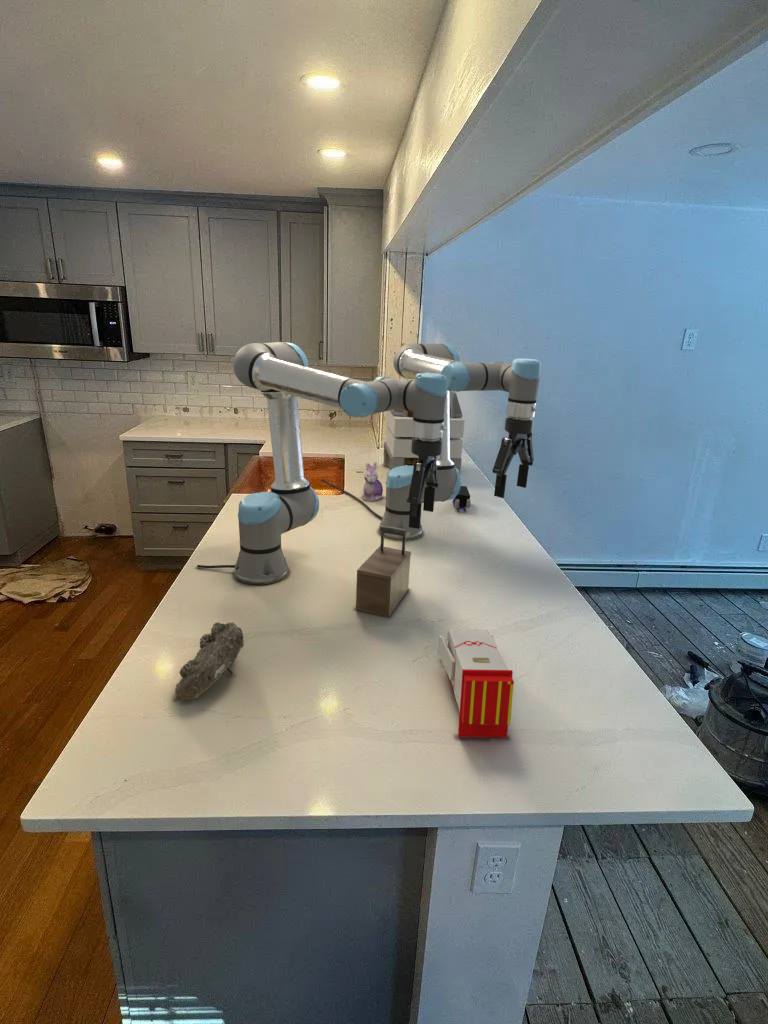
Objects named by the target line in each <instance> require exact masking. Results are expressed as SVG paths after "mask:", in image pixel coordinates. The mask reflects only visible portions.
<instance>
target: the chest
mask: <svg viewBox="0 0 768 1024" xmlns="http://www.w3.org/2000/svg"><path fill="white" fill-rule="evenodd" d="M410 566H411V556H410V557H409V558H408V559H407V560H406V562H405V563H404V564H403V565H402V567H401V568H400V569H399V570H398V572H397V573H396V574H395V576H394V577H393V578H392V579H391V580H388V579H383V578H378V577H373V576H368V575H363V574H358V573H357V572H356V587H355V590H356V592H355V610H357V611H361V612H364V613H365V612H366V613H369V614H373V615H377V616H384V617H388V618H389V617H391V615H392V614H393V612H394V611H395V609H396V608H397V606H398V605H399V603H400V602H401V601H402V599H403V598H404V597H405V595H406V593H407V592H408V591H409V585H410V569H411V567H410Z"/></svg>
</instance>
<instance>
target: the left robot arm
mask: <svg viewBox="0 0 768 1024" xmlns="http://www.w3.org/2000/svg"><path fill="white" fill-rule="evenodd" d="M308 361H309V360H308V358H307V355H306V354H305V352H304V351H303V350H302V349H301V348H300V347H299V346H298V345H297V344H295V343H292V342H285V341H276V342H274V341H273V342H251V343H248V344H245V345H244V346H241V348H240V349H239V350H238V351H237V352H236V354H235V356H234V357H233V363H232V365H233V372H234V375H235V377H236V378H237V380H238V381H239V382H240V383H241V384H243V385H244V386H246V387H248V388H250V389H254V390H258V391H260V394H262V395H263V396H264V397H265V398H266V402H267V411H268V422H269V432H270V442H271V451H272V461H273V470H274V471H273V472H274V481H272V483H271V484H270V491H261V492H252V493H249V494H248V495H246V496H244V497H243V498H242V499H241V500H240V501H239V503H238V512H237V519H238V533H239V552H238V556H237V560H236V562H235V564H218V565H217V564H215V565H205V564H196V568H200V569H228V568H230V569H231V568H233V569H234V577H235V578H236V579H237V580H238V581H239V582H242V583H244V584H248V585H258V586H260V585H270V584H273V583H276V582H279V581H281V580H283V579H285V578H286V577H287V576H288V574H289V565H288V563H287V558H286V556H285V554H284V552H283V549H282V535H283V534H285V533H287V532H290V531H293V530H295V529H297V528H300V527H304V526H305V525H307V524H309V523H310V522H311V521H314V520H315V518H316V517H317V515H318V513H319V509H320V499H319V495H318V493H316V491H315V489H314V488H313V487H312V486H311V482H310V481H309V480H308V479H306V477H305V472H304V460H303V447H302V437H301V425H300V413H299V402H298V400H299V399H298V398H301V399H305V400H308V401H312V402H315V403H319V404H323V405H326V406H330V407H334V408H336V409H341V410H342V411H343V412H344V413H345V414H346V415H347V416H349V417H351V418H367V417H369V416H372V415H376V414H379V413H384V412H387V411H389V410H405V411H410V412H413V428H412V436H413V437H414V438H413V439H412V446H411V452H412V453H413V454H415V455H417V456H418V457H419V458H418V461H417V462H414V467H413V475H412V480H411V486H410V491H409V497H408V499H407V503H410V515H409V527H410V528H417V529H420V522H421V519H422V511H425V512H429V513H432V512H433V513H434V509H435V502H434V497H435V488H434V487H437V488H438V486H439V484H438V483H437V482H438V477H437V456H439V455H440V454H441V452H442V440H441V439H440V438H442V437H443V430H445V429H446V427H445V426H443V424H444V411H445V401H446V395H447V393H446V383H447V380H446V377H445V376H444V375H442V374H436V373H419V374H417V375H416V379H406V378H404V379H403V378H397V377H392V376H377V377H375V378H374V380H372V381H371V380H370V381H365V380H360V379H357V378H356V379H355V378H352V377H348V376H345V375H340V374H337V373H333V372H328V371H324V370H321V369H317V368H314V367H313V368H312V367H310V366H309V362H308ZM425 483H426V486H428V487H425V490H424V486H425ZM423 490H424V503H421V498H422V494H423ZM414 498H416V499H414ZM422 504H423V505H422Z"/></svg>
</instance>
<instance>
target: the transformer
mask: <svg viewBox="0 0 768 1024" xmlns="http://www.w3.org/2000/svg"><path fill="white" fill-rule="evenodd" d="M385 412H386V413H385V414H386V415H385V423H386V428H385V438H384V442H383V466H384V467H388V468H389V471H390V470H391V469H393V468H395V467H399V466H414V462H417V461H418V458H419V457H418V456H417V455H415V454H413V453H412V452H411V446H412V439H413V438H414V437H413V436H412V428H413V412H410V411H405V410H389V411H385ZM464 429H465V419H464V418H463V411H462V408H461V405H460V402H459V398H458V395H457V392H455V391H450V459H451V461H452V462H453V463H454V467H455V468H457V469H458V470H459V472H460V474H459V475H461V472H462V461H463V460H462V453H463V442H464V441H463V440H462V439H463V438H464V431H465V430H464Z"/></svg>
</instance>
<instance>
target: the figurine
mask: <svg viewBox="0 0 768 1024" xmlns="http://www.w3.org/2000/svg"><path fill="white" fill-rule="evenodd" d="M365 464H366V465H365V466H366V467H365V470H366V471H365V474H364V475H363V476H364V480H365V483H364V485H363V495H362V498H363V500H364V501H368V502H373V501H378V500H381V499H382V498H383V493H384V487H383V483H382V482H381V481H380V480H379V475H378V473H377V468H378V462H377V461H375V462H374V463H373V464H372V465H370V463H369V462H366V463H365Z"/></svg>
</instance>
